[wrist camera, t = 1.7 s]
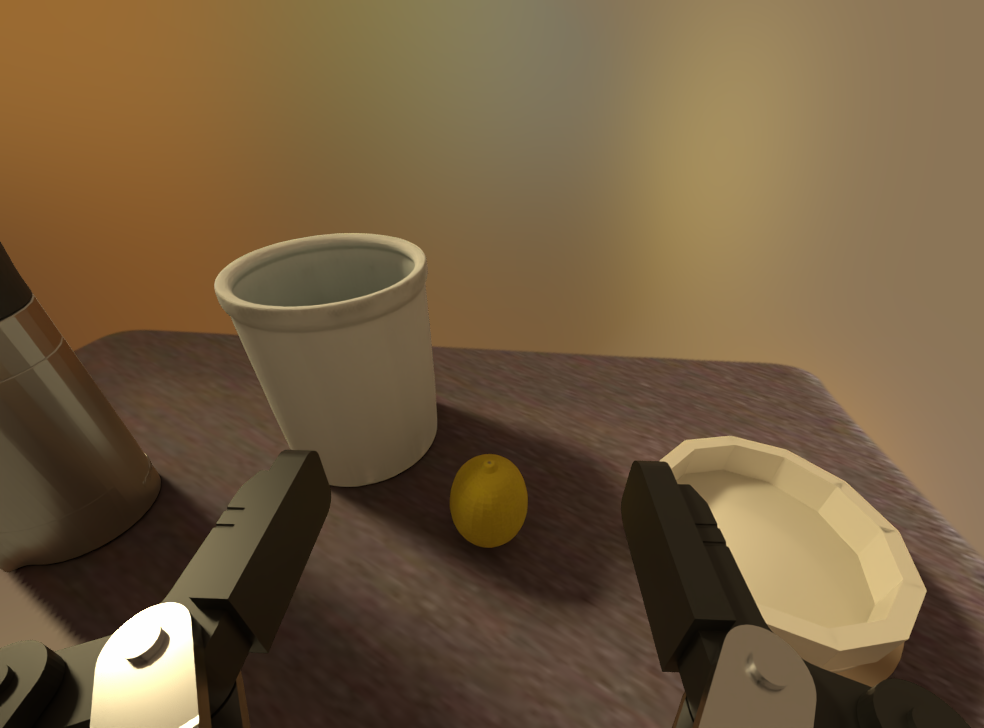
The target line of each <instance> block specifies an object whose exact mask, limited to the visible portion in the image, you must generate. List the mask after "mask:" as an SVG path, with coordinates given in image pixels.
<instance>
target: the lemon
mask: <svg viewBox="0 0 984 728" xmlns="http://www.w3.org/2000/svg"><path fill="white" fill-rule="evenodd" d="M527 506H528V495H527V489H526V486H525V482H524V479H523V476H522V475H521V473H520V471H519V470H518V468H517V467H516V466H515V465H514V464H513V463H512V462H511V461H509V460H508V459H506V458H504V457H502V456H499V455H495V454H483V455H479V456H476V457H474V458H472V459H470V460H468V461H467V462H466V463H465V464H464V465H463V466H462V467H461V468H460V469H459V471H458V472H457V474H456V476H455V479H454V481H453V484H452V487H451V493H450V510H451V515H452V519H453V522H454V524H455V526H456V528H457V529H458V531H459V533H460V534H461V535H462V536H463V537H464V538H465V539H466V540H467V541H469V542H471V543H472V544H474V545H477V546H480V547H487V548H492V547H497V546H501V545H503V544H505V543H507V542H509V541H510V540H511V539H512V538H513V537H515V536H516V534H517V533H518V531H519V530H520V529H521V527H522V525H523V523H524V520H525V517H526V514H527Z"/></svg>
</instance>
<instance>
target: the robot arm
mask: <svg viewBox="0 0 984 728" xmlns="http://www.w3.org/2000/svg"><path fill="white" fill-rule="evenodd" d="M160 488H161V479H160V476H159V474H158V472H157V471H156V469H155V468H154V466H153V465H152V463H151V461H150V459H149V458H148V457H147V455H146V454H145V453H144V452H143V451H142V449H141V448H140V446H139V445H138V443H137V442H136V440H135V439H134V437H133V436H132V435H131V433H130V432H129V430H128V429H127V427H126V426H125V425H124V423H123V422H122V420H121V419H120V417H119V416H118V415H117V413H116V412H115V410H114V409H113V407H112V406H111V405H110V403H109V402H108V400H107V399H106V397H105V396H104V395H103V393H102V392H101V390H100V389H99V387H98V386H97V385H96V383H95V382H94V380H93V379H92V377H91V376H90V375H89V373H88V372H87V370H86V369H85V367H84V366H83V365H82V363H81V362H80V360H79V359H78V357H77V356H76V355H75V353H74V352H73V350H72V349H71V347H70V346H69V345H68V343H67V342H66V340H65V339H64V337H63V336H62V335H61V333H60V332H59V330H58V329H57V328H56V326H55V325H54V323H53V322H52V320H51V319H50V318H49V316H48V315H47V313H46V312H45V310H44V309H43V307H42V306H41V305H40V303H39V302H38V300H37V299H36V297H35V296H34V295H33V293H32V292H31V290H30V289H29V287H28V286H27V284H26V283H25V282H24V280H23V279H22V277H21V276H20V274H19V273H18V271H17V270H16V268H15V267H14V265H13V263H12V261H11V259H10V258H9V256H8V254H7V252H6V251H5V249H4V247H3V245H2V244H1V242H0V569H2V570H3V571H4V572H10V571H13V570H15V569H17V568H20V567H23V566H26V565H45V564H52V563H57V562H63V561H66V560H69V559H72V558H75V557H78V556H81V555H83V554H86V553H88V552H90V551H92V550H95V549H97V548H99V547H101V546H102V545H104V544H106V543H108V542H109V541H111V540H113V539H115V538H116V537H117V536H119V535H120V534H122V533H123V532H125V531H126V530H127V529H129V528H130V527H131V526H132V525H133V524H135V523H136V522H137V521H138V520H139V519H140V518H141V517H142V516H143V515H144V514H145V513H146V512H147V511H148V510H149V508H150V507H151V506H152V504H153V503H154V501H155V500H156V498H157V496H158V493H159V491H160ZM330 503H331V489H330V485H329V483H328V480H327V477H326V474H325V471H324V468H323V465H322V462H321V459H320V456H319V454H318V452H316V451H313V450H284V451H282V452H281V453H280V454H279V455H278V457H277V458H276V460H275V462H274V463H273V465H272V466H271V468H270V470H269V471H259V472H258V473H257V474H256V475H254V476H253V477H252V478H251V479H250V480H249V481H247V482H246V483H245V484H244V485H243V486H242V487H240V489H239V490H238V492H237V493H236V495H235V496H234V498H233V499H232V501H231V502H230V504H229V505H228V507H227V511H224V513H223V514H222V516H221V517H220V519H219V520H218V521H217V523H216V527H215V528H213V529H212V530H211V532H210V533H209V535H208V536H207V538H206V539H205V541H204V542H203V544H202V545H201V547H200V548H199V550H198V551H197V553H196V554H195V555H194V557H193V558H192V560H191V561H190V563H189V564H188V566H187V567H186V569H185V570H184V572H183V573H182V575H181V576H180V578H179V579H178V581H177V582H176V584H175V585H174V587H173V588H172V589H171V591H170V592H169V594H168V595H167V596H166V598H165V599H164V600H163V601H162V602H161V603H160V604H158V605H155V606H152V607H150V608H148V609H146V610H144V611H142V612H140V613H138V614H137V615H135V616H134V617H132V618H131V619H130V620H128V621H127V622H126V623H125V624H123V625H122V626H121V627H120V628H119V629H118V630H117V631H116V632H115V633H114V634H113V635H110V636H106V637H103V638H100V639H96V640H93V641H89V642H86V643H82V644H79V645H75V646H72V647H68V648H65V649H62V650H58V651H55V652H54V651H52V650H51V649H49V648H48V647H46V646H45V645H44V644H42V643H41V642H38V641H32V640H27V641H20V642H16V643H13V644H10V645H7V646H5V647H3V648H1V649H0V728H251V727H250V721H249V715H248V708H247V702H246V696H245V690H244V683H243V677H242V673H241V671H240V670H241V668H242V666H243V664H244V661H245V659H246V657H247V655H248V653H249V652H254V653H268V652H269V649H270V647H271V645H272V642H273V640H274V638H275V635H276V633H277V631H278V628H279V626H280V624H281V621H282V619H283V617H284V614H285V612H286V610H287V607H288V605H289V603H290V600H291V598H292V596H293V593H294V591H295V589H296V586H297V584H298V582H299V579H300V577H301V575H302V572H303V570H304V568H305V565H306V563H307V561H308V558H309V556H310V554H311V551H312V549H313V547H314V544H315V542H316V540H317V537H318V535H319V533H320V530H321V528H322V526H323V523H324V521H325V519H326V516H327V514H328V511H329V508H330ZM621 514H622V521H623V526H624V529H625V533H626V537H627V541H628V544H629V548H630V552H631V556H632V560H633V563H634V567H635V571H636V575H637V578H638V582H639V586H640V590H641V594H642V597H643V601H644V605H645V609H646V612H647V616H648V620H649V624H650V627H651V631H652V635H653V639H654V643H655V646H656V650H657V654H658V658H659V661H660V665H661V669H662V672H679V673H680V676H681V679H682V683H683V686H684V689H685V692H684V694H683V696H682V699H681V702H680V705H679V708H678V711H677V714H676V717H675V720H674V723H673V726H672V728H971V727H970V726H969V725H968V724H967V723H966V722H965V720H964V719H963V718H962V717H961V716H960V715H959V714H958V713H957V712H956V711H955V710H954V709H952V708H951V707H950V706H949V705H948V704H947V703H945V702H944V701H943V700H941V699H940V698H939V697H937V696H936V695H935V694H933V693H931V692H930V691H928V690H926V689H925V688H923V687H921V686H919V685H917V684H914V683H912V682H909V681H906V680H901V679H886V680H883V681H881V682H880V683H878V684H877V685H875V686H874V687H870V686H868V685H865V684H862V683H860V682H857V681H854V680H852V679H849V678H846V677H844V676H841V675H838V674H836V673H833V672H831V671H828V670H825V669H823V668H820V667H818V666H815V665H813V664H811V663H809V662H807V661H806V660H804V659H802V658H801V657H800V656H799V655H798V654H797V652H796V651H795V650H794V649H793V648H792V647H791V646H790V645H789V644H788V643H786V642H785V641H784V640H783V639H782V638H780V637H779V636H777V635H776V634H774V633H773V632H772V631H771V630H770V628H769V627H768V625H767V624H766V622H765V620H764V619H763V617H762V615H761V613H760V611H759V609H758V607H757V605H756V602H755V600H754V598H753V596H752V594H751V592H750V590H749V588H748V586H747V584H746V582H745V580H744V578H743V576H742V574H741V571H740V569H739V567H738V565H737V563H736V561H735V559H734V557H733V555H732V553H731V551H730V549H729V547H727V546H726V540H725V538H724V536H723V534H722V532H721V530H720V528H718V527H717V522H716V520H715V518H714V516H713V514H712V512H711V509H710V507H709V505H708V503H707V502H706V501H705V500H704V499H703V498H702V497H701V496H700V495H699V494H698V492H697V491H696V490H695V489H694V488H693V487H692V486H691V485H690V484H677V481H676V479H675V477H674V474H673V472H672V470H671V468H670V466H669V464H668V463H667V462H664V461H634V462H633V464H632V466H631V470H630V473H629V476H628V480H627V483H626V487H625V490H624V493H623V497H622V502H621Z"/></svg>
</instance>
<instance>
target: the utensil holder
mask: <svg viewBox="0 0 984 728" xmlns="http://www.w3.org/2000/svg"><path fill="white" fill-rule="evenodd" d="M427 274H428V269H427V260H426V256H425V254H424V252H423V251H422V250H421V249H420V248H419V247H418V246H416V245H415V244H413V243H411V242H408V241H406V240H403V239H400V238H395V237H391V236H385V235H377V234H363V233H340V234H328V235H318V236H311V237H305V238H299V239H294V240H289V241H285V242H280V243H277V244H273V245H270V246H267V247H264V248H261V249H258V250H255V251H253V252H251V253H248V254H246V255H244V256H242V257H240V258H238V259H236V260H235V261H233V262H232V263H230V264H229V265H228V266H226V267H225V268H224V269H223V270H222V271H221V272H220V273H219V275H218V276H217V278H216V280H215V285H214V287H215V293H216V296H217V298H218V301H219V303H220V305H221V306H222V308H223V309H224V310H225V312H226V313H227V314H229V316H231V319H232V321H233V323H234V326H235V328H236V330H237V332H238V335H239V337H240V339H241V342H242V344H243V346H244V348H245V351H246V353H247V355H248V357H249V359H250V362H251V364H252V366H253V368H254V370H255V373H256V375H257V377H258V379H259V381H260V383H261V386H262V388H263V390H264V393H265V395H266V397H267V399H268V402H269V404H270V406H271V409H272V411H273V413H274V415H275V417H276V419H277V421H278V423H279V426H280V428H281V430H282V432H283V434H284V436H285V438H286V440H287V442H288V444H289V447H290V449H291V450H313V451H316V452H318V454H319V456H320V459H321V462H322V465H323V468H324V471H325V474H326V477H327V480H328V483H329V485H333V486H340V487H357V486H363V485H368V484H373V483H377V482H380V481H383V480H386V479H389V478H391V477H394V476H396V475H397V474H399V473H401V472H403V471H405V470H406V469H408V468H409V467H411V466H412V465H414V464H415V463H416V462H417V461H418V460H419V459H421V457H422V456H423V455H424V454H425V453H426V452H427V451H428V449H429V448H430V446H431V444H432V443H433V440H434V438H435V435H436V431H437V407H436V391H435V377H434V366H433V355H432V344H431V334H430V323H429V316H428V315H429V314H428V305H427V295H426V286H425V282H426V279H427Z"/></svg>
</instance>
